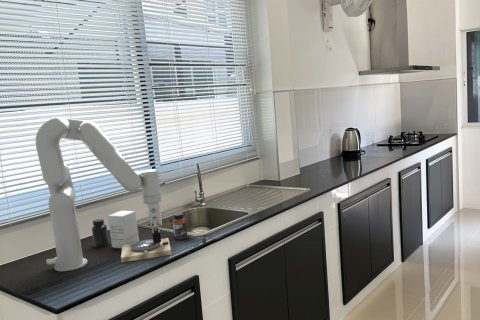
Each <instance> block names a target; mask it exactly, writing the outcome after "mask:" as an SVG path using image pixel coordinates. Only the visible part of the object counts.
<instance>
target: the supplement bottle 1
mask: <svg viewBox="0 0 480 320" xmlns="http://www.w3.org/2000/svg"><path fill="white" fill-rule="evenodd" d="M92 225H93V226H92V227H91V235H92V239H93V241H92V242H93V246H94V247H95V248H103V246H104V247H106V245H107V246H108V245H110V238H109V231H108V226H107V224H105V220H104V218H97V219H94V220H92Z"/></svg>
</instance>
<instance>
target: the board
mask: <svg viewBox="0 0 480 320" xmlns="http://www.w3.org/2000/svg"><path fill="white" fill-rule="evenodd" d="M132 244H134V243H132ZM132 244H126V245H122V248H121V255H120V260H121V261H120V263H128V262H133V261H141V260H146V259H153V258H159V257H166V256H170V255H172V248H171V245H170V244H171V243H170V240H169V238H168V237H165V238H161V242H160V246H159V247H157V248H155V249H152V250H148V251H147V250H144V251H133V250H132V249H131V245H132Z"/></svg>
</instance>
